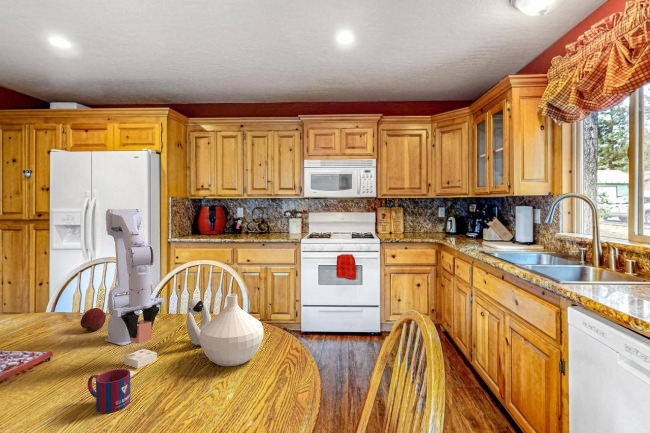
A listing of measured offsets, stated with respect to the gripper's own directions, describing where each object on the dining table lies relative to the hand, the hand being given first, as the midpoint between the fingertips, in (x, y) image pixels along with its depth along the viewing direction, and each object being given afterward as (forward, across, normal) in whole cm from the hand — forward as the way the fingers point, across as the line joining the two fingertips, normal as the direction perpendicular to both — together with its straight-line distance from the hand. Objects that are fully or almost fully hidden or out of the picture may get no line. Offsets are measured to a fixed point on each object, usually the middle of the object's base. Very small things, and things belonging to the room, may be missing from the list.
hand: (140, 334), depth 100 cm
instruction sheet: (+8, -9, -3) cm, 12 cm away
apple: (+8, +8, +38) cm, 40 cm away
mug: (+8, -17, -13) cm, 23 cm away
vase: (+8, +14, -22) cm, 27 cm away
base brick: (+8, 0, 0) cm, 8 cm away
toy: (+8, +17, -5) cm, 19 cm away
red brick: (+2, 0, 0) cm, 2 cm away
